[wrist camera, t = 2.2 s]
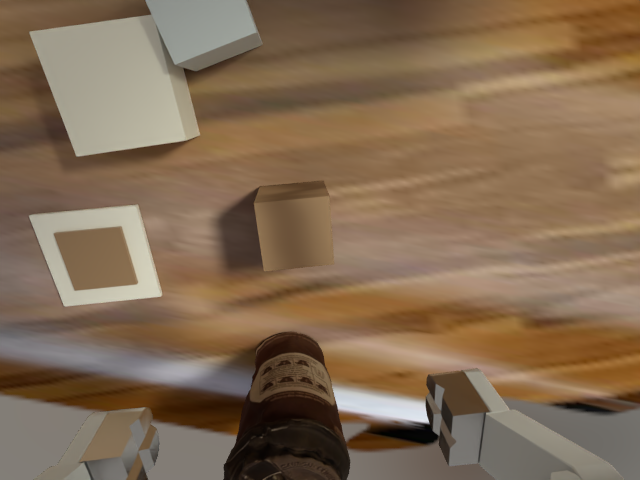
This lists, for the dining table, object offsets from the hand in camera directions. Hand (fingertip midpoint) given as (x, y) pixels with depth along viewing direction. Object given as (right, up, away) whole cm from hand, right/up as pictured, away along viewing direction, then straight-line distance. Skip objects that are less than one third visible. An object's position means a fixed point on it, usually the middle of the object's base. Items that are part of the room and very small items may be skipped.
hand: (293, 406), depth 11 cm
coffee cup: (-2, -6, +24) cm, 25 cm away
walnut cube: (-1, +7, +19) cm, 20 cm away
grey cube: (-6, +20, +13) cm, 25 cm away
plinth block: (-12, +15, +15) cm, 24 cm away
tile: (-17, +4, +19) cm, 25 cm away
